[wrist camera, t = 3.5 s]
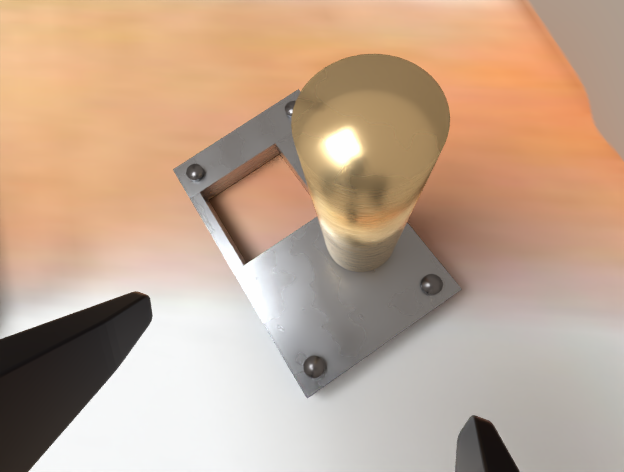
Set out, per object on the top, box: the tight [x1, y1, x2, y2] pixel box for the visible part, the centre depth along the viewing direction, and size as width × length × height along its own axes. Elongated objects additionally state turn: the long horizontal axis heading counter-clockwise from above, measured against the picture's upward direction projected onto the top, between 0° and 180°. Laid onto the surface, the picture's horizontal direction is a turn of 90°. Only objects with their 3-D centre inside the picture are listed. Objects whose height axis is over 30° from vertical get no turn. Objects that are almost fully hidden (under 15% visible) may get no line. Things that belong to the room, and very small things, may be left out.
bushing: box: [291, 54, 450, 272], centre depth 15 cm, size 4×4×12 cm
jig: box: [173, 89, 462, 398], centre depth 23 cm, size 18×11×2 cm, turn 33°
